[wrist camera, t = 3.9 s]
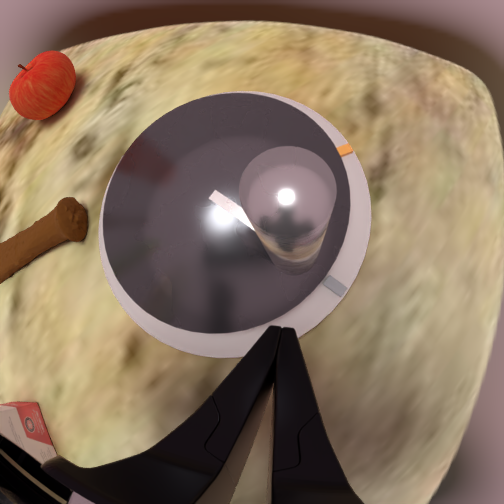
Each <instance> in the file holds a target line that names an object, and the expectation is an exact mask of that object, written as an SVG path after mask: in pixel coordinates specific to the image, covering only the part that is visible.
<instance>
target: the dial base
mask: <svg viewBox="0 0 504 504" xmlns="http://www.w3.org/2000/svg"><path fill="white" fill-rule="evenodd" d="M225 93H251V94H257V95H263V96H267V97H271V98H275V99H278V100H280V101H283V102H285V103H287V104H290V105H292V106H293V107H295V108H297V109H299V110H300V111H302V112H304V113H305V114H306V115H308V116H309V117H310V118H311V119H313V120H314V121H315V122H316V123H317V124H318V125H319V126H320V127H321V128H322V129H323V130H324V131H325V132H326V134H327V135H328V136H329V138H330V139H331V140H332V142H333V143H334V145H335V147H336V148H337V150H338V152H339V154H340V156H341V158H342V161H343V164H344V166H345V169H346V172H347V177H348V182H349V187H350V205H351V206H350V216H349V224H348V228H347V232H346V235H345V239H344V242H343V245H342V247H341V249H340V252H339V254H338V256H337V259H336V260H335V262H334V264H333V265H332V267H331V269H330V270H329V272H328V273H327V275H326V276H325V278H324V279H323V280H322V281H321V283H320V284H319V285H318V286H317V287H316V289H315V290H314V291H313V292H312V293H311V294H310V295H309V296H308V297H307V298H306V299H304V300H303V301H302V302H301V303H300V304H299V305H297V306H296V307H294V308H293V309H292V310H290V311H289V312H287V313H286V314H284V315H282V316H280V317H278V318H276V319H274V320H272V321H270V322H268V323H266V324H263V325H260V326H257V327H254V328H251V329H248V330H244V331H238V332H232V333H221V334H206V333H198V332H190V331H187V330H183V329H179V328H176V327H173V326H171V325H168V324H166V323H164V322H162V321H159V320H158V319H156V318H155V317H153V316H151V315H150V314H148V313H147V312H145V311H144V310H143V309H142V308H141V307H139V306H138V305H137V304H136V303H135V302H134V301H133V300H132V299H131V298H130V297H129V295H128V294H127V293H126V292H125V291H124V289H123V288H122V286H121V285H120V283H119V282H118V280H117V278H116V277H115V275H114V272H113V270H112V268H111V266H110V263H109V260H108V257H107V253H106V250H105V244H104V238H103V211H104V204H105V199H106V194H107V191H108V187H109V185H110V182H111V179H112V177H111V179H110V181H109V183H108V186H107V189H106V192H105V195H104V198H103V202H102V207H101V212H100V220H99V248H100V255H101V261H102V265H103V268H104V272H105V275H106V278H107V280H108V283H109V285H110V287H111V289H112V292H113V294H114V295H115V297H116V298H117V300H118V302H119V303H120V305H121V306H122V308H123V309H124V310H125V311H126V313H127V314H128V315H129V316H130V317H131V318H132V320H133V321H134V322H136V323H137V324H138V325H139V326H140V327H141V328H142V329H143V330H145V331H146V332H147V333H148V334H150V335H152V336H153V337H155V338H156V339H158V340H159V341H161V342H163V343H165V344H167V345H169V346H171V347H173V348H176V349H178V350H181V351H184V352H188V353H191V354H195V355H199V356H206V357H214V358H237V357H244V356H245V355H246V353H247V352H248V351H249V350H250V349H251V347H252V346H253V345H254V344H255V343H256V341H257V340H258V339H259V338H260V336H261V335H262V334H263V333H264V332H265V330H266V329H267V328H268V327H269V326H270V325H276V326H281V327H282V328H283V327H291V328H294V329H295V331H296V334H297V337H298V338H299V337H300V336H302V335H303V334H305V333H306V332H308V331H309V330H311V329H312V328H314V327H315V326H316V325H317V324H319V323H320V322H321V321H322V320H323V319H324V318H325V317H326V316H327V315H328V314H330V313H331V312H332V311H333V309H334V308H335V307H336V306H337V305H338V303H339V302H340V301H341V300H342V298H343V297H344V296H345V295H346V293H347V291H348V290H349V288H350V286H351V285H352V283H353V281H354V280H355V278H356V276H357V274H358V272H359V269H360V267H361V264H362V262H363V260H364V257H365V253H366V249H367V245H368V241H369V237H370V227H371V202H370V195H369V190H368V185H367V180H366V178H365V175H364V172H363V169H362V167H361V164H360V162H359V160H358V158H357V156H356V155H355V153H354V151H353V149H352V148H351V146H350V145H349V143H348V142H347V141H346V139H345V138H344V137H343V135H342V134H341V133H340V132H339V131H338V130H337V129H336V128H335V127H334V126H333V125H332V124H331V123H330V122H329V121H327V120H326V119H325V118H323V117H322V116H321V115H320V114H318V113H317V112H315V111H313V110H312V109H310V108H308V107H306V106H305V105H303V104H300V103H298V102H296V101H293V100H291V99H289V98H285V97H282V96H278V95H274V94H269V93H263V92H253V91H236V92H225ZM225 93H219V94H225ZM214 95H217V94H214ZM209 96H212V95H209ZM206 97H207V96H206ZM199 99H200V98H199ZM196 100H197V99H196ZM123 156H124V155H123ZM121 159H122V158H121ZM120 161H121V160H120ZM118 164H119V163H118ZM117 166H118V165H117ZM116 168H117V167H116ZM115 170H116V169H115ZM115 170H114V172H115ZM114 172H113V174H114ZM112 176H113V175H112Z"/></svg>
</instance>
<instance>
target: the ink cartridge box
mask: <svg viewBox="0 0 504 504" xmlns="http://www.w3.org/2000/svg"><path fill="white" fill-rule="evenodd" d="M0 433H2V434H3V435H4V436H6V437H7V438H8V439H10V440H11V441H13V442H14V443H16V444H17V445H18V446H20V447H21V448H22V449H24V450H25V451H26V452H28V453H29V454H30V455H32V456H33V457H34V458H36V459H37V460H38V461H40V462H41V463H42V464H43V463H44V462H46V461H47V460H49V459H51V458H53V457H56V456H57V454H56V452H55V450H54V447H53V445H52V442H51V440H50V437H49V435H48V432H47V429H46V427H45V424H44V421H43V418H42V415H41V412H40V409H39V406H38V404H37V403H31V402H10V403H5V404H0Z"/></svg>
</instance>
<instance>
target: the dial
mask: <svg viewBox="0 0 504 504" xmlns="http://www.w3.org/2000/svg"><path fill="white" fill-rule="evenodd" d="M350 206H351V205H350V187H349V182H348V177H347V172H346V169H345V166H344V164H343V161H342V158H341V156H340V154H339V152H338V150H337V148H336V147H335V145H334V143H333V142H332V140H331V139H330V138H329V136H328V135H327V134H326V132H325V131H324V130H323V129H322V128H321V127H320V126H319V125H318V124H317V123H316V122H315V121H314V120H313V119H311V118H310V117H309V116H308V115H306V114H305V113H304V112H302V111H300V110H299V109H297V108H295V107H293V106H292V105H290V104H287V103H285V102H283V101H280V100H278V99H275V98H271V97H267V96H263V95H257V94H251V93H225V94H217V95H212V96H207V97H203V98H200V99H197V100H193V101H191V102H188V103H186V104H184V105H181V106H179V107H177V108H175V109H173V110H172V111H170V112H168V113H166V114H165V115H163V116H162V117H161V118H159V119H158V120H156V121H155V122H154V123H152V124H151V125H150V126H149V127H148V128H147V129H146V130H144V131H143V132H142V133H141V134H140V136H139V137H138V138H137V139H136V140H135V141H134V142H133V143H132V145H131V146H130V147H129V149H128V150H127V151H126V153H125V154H124V156H123V157H122V159H121V161H120V162H119V164H118V166H117V168H116V170H115V172H114V174H113V176H112V179H111V182H110V185H109V187H108V191H107V194H106V199H105V204H104V211H103V238H104V244H105V250H106V253H107V257H108V260H109V263H110V266H111V268H112V270H113V272H114V275H115V277H116V278H117V280H118V282H119V283H120V285H121V286H122V288H123V289H124V291H125V292H126V293H127V294H128V295H129V297H130V298H131V299H132V300H133V301H134V302H135V303H136V304H137V305H138V306H139V307H141V308H142V309H143V310H144V311H145V312H147V313H148V314H150V315H151V316H153V317H155V318H156V319H158V320H159V321H162V322H164V323H166V324H168V325H171V326H173V327H176V328H179V329H183V330H187V331H190V332H198V333H206V334H221V333H232V332H238V331H244V330H248V329H251V328H254V327H257V326H260V325H263V324H266V323H268V322H270V321H272V320H274V319H276V318H278V317H280V316H282V315H284V314H286V313H287V312H289V311H290V310H292V309H293V308H294V307H296V306H297V305H299V304H300V303H301V302H302V301H303V300H304V299H306V298H307V297H308V296H309V295H310V294H311V293H312V292H313V291H314V290H315V289H316V287H317V286H318V285H319V284H320V283H321V281H322V280H323V279H324V278H325V276H326V275H327V273H328V272H329V270H330V269H331V267H332V265H333V264H334V262H335V260H336V259H337V256H338V254H339V252H340V249H341V247H342V245H343V242H344V239H345V235H346V232H347V228H348V224H349V216H350Z"/></svg>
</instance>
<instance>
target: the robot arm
mask: <svg viewBox="0 0 504 504" xmlns="http://www.w3.org/2000/svg"><path fill="white" fill-rule="evenodd" d="M273 384H274V387H273ZM272 388H273V403H272V421H271V438H270V454H269V468H268V482H267V495H266V504H364V503H363V501H362V500H361V499H360V498H359V497H358V496H357V495H356V494H355V492H354V491H353V489H352V488H351V486H350V484H349V482H348V480H347V478H346V476H345V474H344V472H343V470H342V468H341V466H340V463H339V461H338V459H337V457H336V455H335V452H334V450H333V448H332V446H331V443H330V441H329V438H328V436H327V433H326V430H325V427H324V424H323V421H322V417H321V414H320V412H319V407H318V404H317V401H316V397H315V394H314V390H313V387H312V384H311V380H310V377H309V374H308V370H307V367H306V364H305V360H304V357H303V354H302V350H301V347H300V344H299V340H298V337H297V334H296V331H295V329H294V328H291V327H283V328H282V327H281V326H276V325H270V326H269V327H268V328H267V329H266V330H265V332H264V333H263V334H262V335H261V336H260V338H259V339H258V340H257V341H256V343H255V344H254V345H253V346H252V347H251V349H250V350H249V351H248V352H247V353H246V355H245V356H244V357H243V358H242V359H241V361H240V362H239V363H238V364H237V365H236V366H235V368H234V369H233V370H232V371H231V372H230V373H229V375H228V376H227V377H226V378H225V379H224V380H223V382H222V383H221V384H220V385H219V386H218V387H217V388H216V390H215V391H214V392H213V393H212V395H210V396H209V397H208V398H207V400H206V401H205V402H204V403H203V404H202V405H201V406H200V407H199V408H198V409H197V410H196V411H195V412H194V413H193V414H192V415H191V416H190V417H189V418H188V419H186V420H185V421H184V422H183V423H182V424H181V425H179V426H178V427H177V428H176V429H175V430H173V431H172V432H171V433H170V434H168V435H167V436H166V437H165V438H163V439H162V440H161V441H159V442H158V443H157V444H156V445H154V446H153V447H151V448H150V449H148V450H146V451H144V452H142V453H140V454H137V455H134V456H131V457H128V458H125V459H122V460H119V461H115V462H112V463H109V464H105V465H102V466H98V467H93V468H83V467H79V466H77V465H75V464H73V463H72V462H70V461H68V460H67V459H65V458H63V457H62V456H60V455H58V456H56V457H53V458H51V459H49V460H47V461H46V462H44V463H43V464H42V463H41V462H40V461H38V460H37V459H36V458H34V457H33V456H32V455H30V454H29V453H28V452H26V451H25V450H24V449H22V448H21V447H20V446H18V445H17V444H16V443H14V442H13V441H11V440H10V439H8V438H7V437H6V436H4V435H3V434H2V433H0V504H229V503H230V501H231V499H232V496H233V494H234V491H235V489H236V488H235V487H236V486H237V484H238V481H239V479H240V476H241V474H242V471H243V469H244V466H245V464H246V461H247V458H248V456H249V453H250V450H251V448H252V445H253V442H254V440H255V437H256V434H257V431H258V429H259V426H260V423H261V420H262V417H263V414H264V412H265V409H266V406H267V403H268V400H269V397H270V394H271V391H272Z"/></svg>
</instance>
